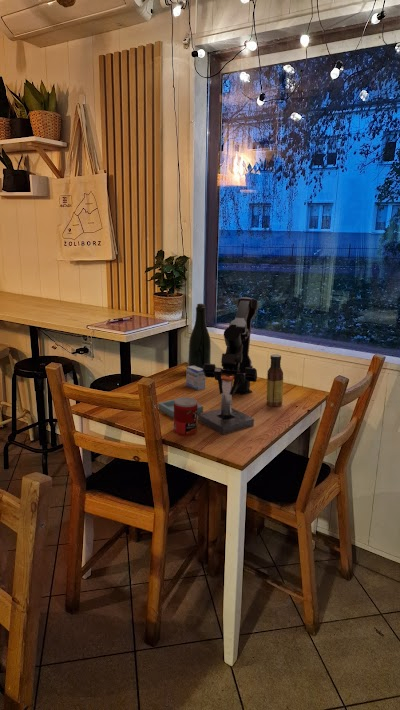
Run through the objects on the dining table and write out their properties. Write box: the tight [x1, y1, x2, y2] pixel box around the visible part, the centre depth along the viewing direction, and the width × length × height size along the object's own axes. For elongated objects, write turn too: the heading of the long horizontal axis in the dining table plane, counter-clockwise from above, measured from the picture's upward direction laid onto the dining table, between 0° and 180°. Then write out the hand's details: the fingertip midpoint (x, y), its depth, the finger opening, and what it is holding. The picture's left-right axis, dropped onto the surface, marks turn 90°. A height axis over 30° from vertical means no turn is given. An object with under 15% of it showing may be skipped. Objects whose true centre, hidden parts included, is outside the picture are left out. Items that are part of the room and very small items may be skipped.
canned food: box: [173, 396, 199, 437], centre depth 159 cm, size 8×8×11 cm
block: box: [197, 407, 255, 435], centre depth 168 cm, size 14×14×2 cm
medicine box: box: [185, 366, 207, 391], centre depth 204 cm, size 8×4×9 cm, turn 42°
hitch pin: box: [220, 373, 234, 415], centre depth 165 cm, size 5×5×14 cm
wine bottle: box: [187, 303, 212, 369], centre depth 219 cm, size 10×10×33 cm
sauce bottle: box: [266, 353, 284, 407], centre depth 185 cm, size 7×6×20 cm
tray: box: [157, 398, 204, 419], centre depth 177 cm, size 12×12×2 cm
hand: (226, 394), depth 164 cm, fingers closed on hitch pin, 4 cm apart
